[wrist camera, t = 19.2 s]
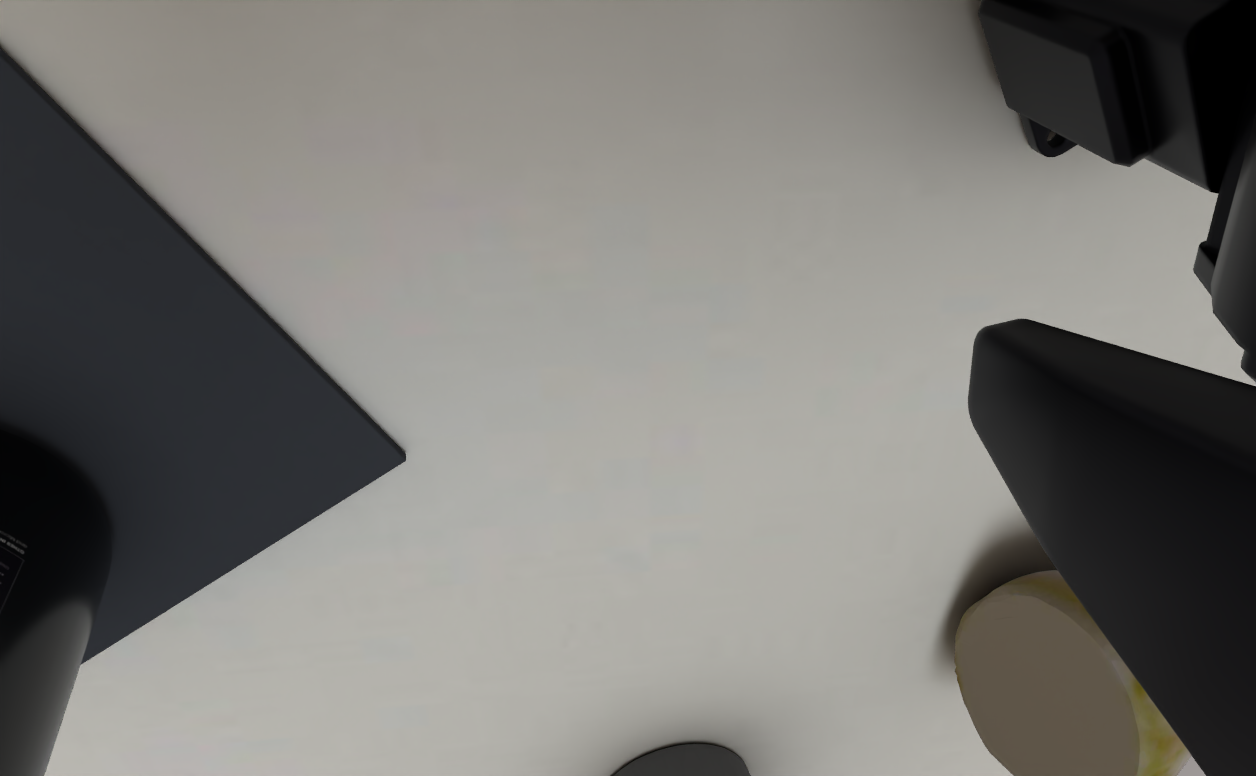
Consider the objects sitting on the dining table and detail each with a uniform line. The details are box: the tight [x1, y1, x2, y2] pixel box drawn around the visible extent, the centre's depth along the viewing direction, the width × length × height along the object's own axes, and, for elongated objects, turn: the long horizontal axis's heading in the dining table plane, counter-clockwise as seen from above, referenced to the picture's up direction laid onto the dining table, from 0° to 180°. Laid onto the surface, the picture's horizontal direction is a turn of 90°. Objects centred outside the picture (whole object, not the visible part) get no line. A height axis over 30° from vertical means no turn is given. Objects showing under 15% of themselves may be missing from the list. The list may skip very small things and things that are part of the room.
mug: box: [955, 570, 1192, 776], centre depth 30 cm, size 8×10×10 cm
